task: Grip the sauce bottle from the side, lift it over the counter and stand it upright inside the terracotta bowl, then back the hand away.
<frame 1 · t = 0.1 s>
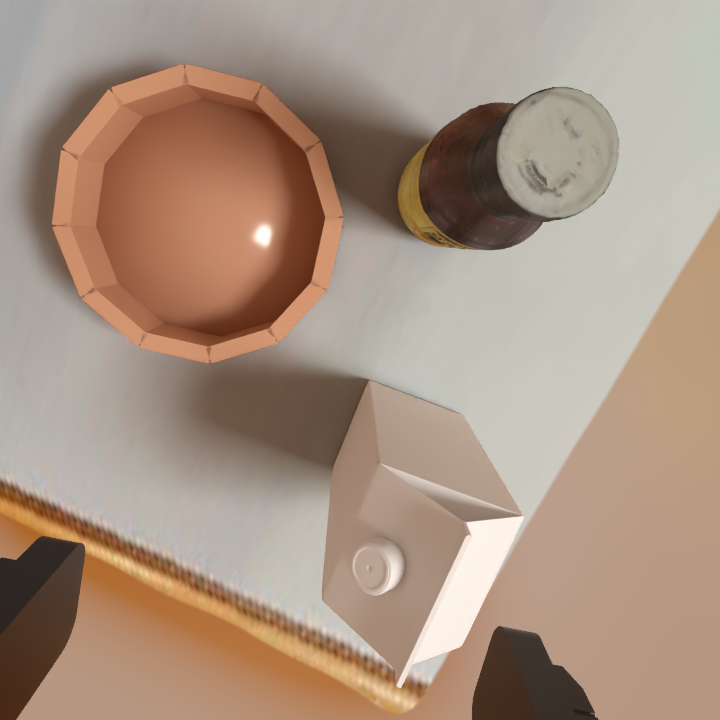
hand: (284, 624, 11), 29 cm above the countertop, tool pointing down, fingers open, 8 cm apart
terracotta bowl: (215, 222, 38), on the countertop
sauce bottle: (446, 196, 38), on the countertop
milk carton: (397, 441, 42), on the countertop
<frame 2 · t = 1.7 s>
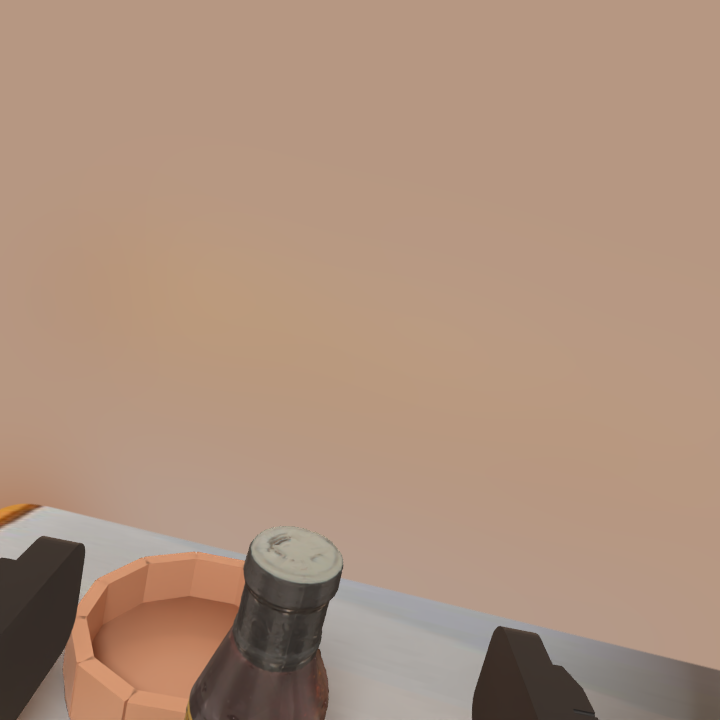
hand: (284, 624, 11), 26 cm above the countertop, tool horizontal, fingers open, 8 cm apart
terracotta bowl: (187, 672, 43), on the countertop
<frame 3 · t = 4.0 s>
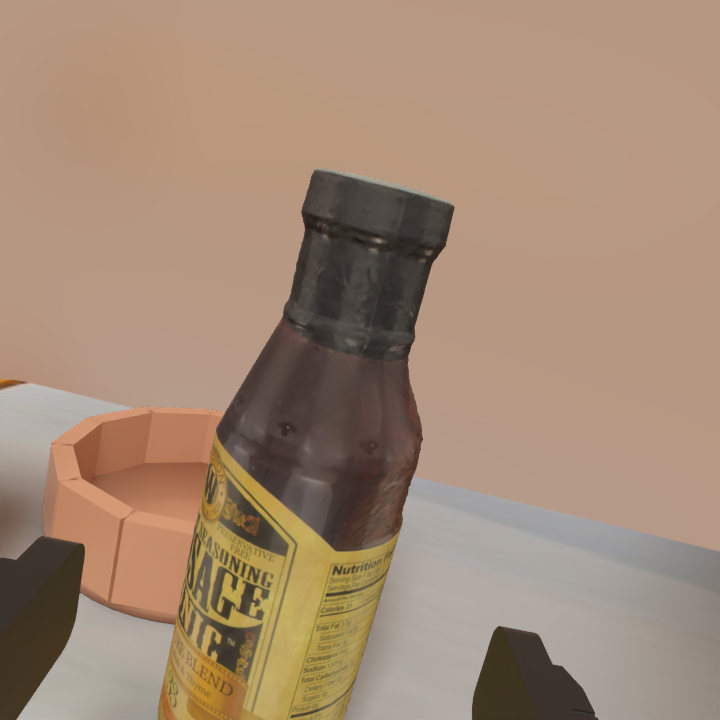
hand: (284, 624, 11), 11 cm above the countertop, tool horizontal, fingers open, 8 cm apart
terracotta bowl: (200, 531, 34), on the countertop
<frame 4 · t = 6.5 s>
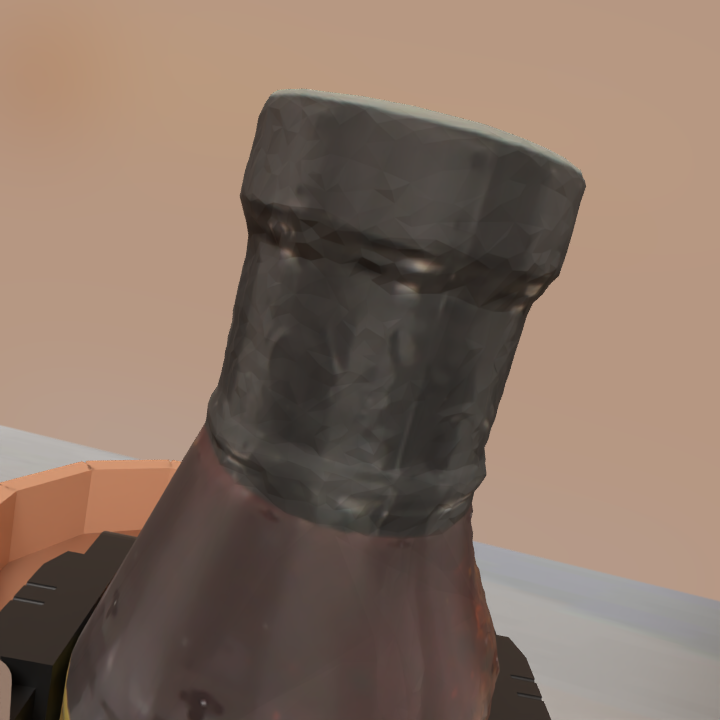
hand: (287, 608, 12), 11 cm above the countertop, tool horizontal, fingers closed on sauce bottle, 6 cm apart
terracotta bowl: (148, 639, 25), on the countertop
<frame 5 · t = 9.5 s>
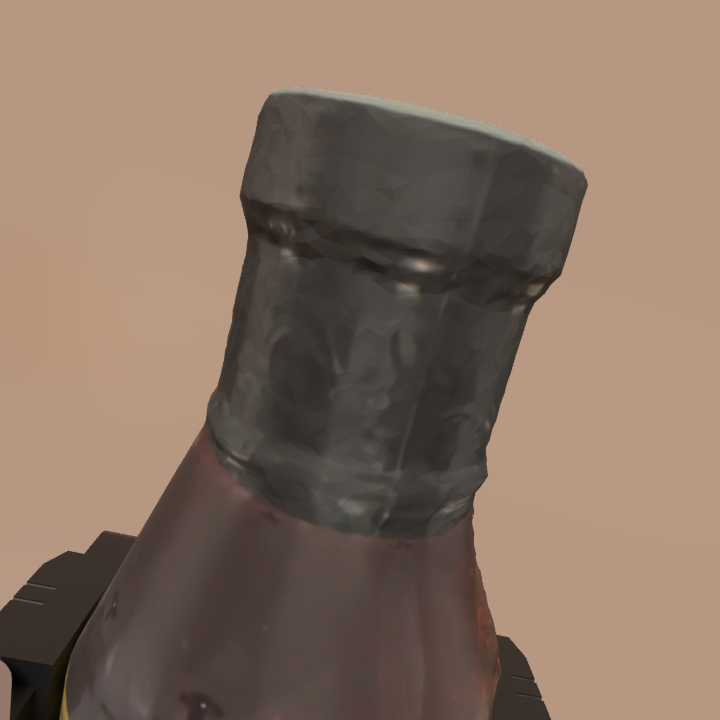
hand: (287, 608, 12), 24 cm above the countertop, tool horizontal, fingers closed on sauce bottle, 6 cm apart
when the fingers open (13 cm above the countertop, at t = 12.5 s): sauce bottle drops 1 cm, resting on terracotta bowl.
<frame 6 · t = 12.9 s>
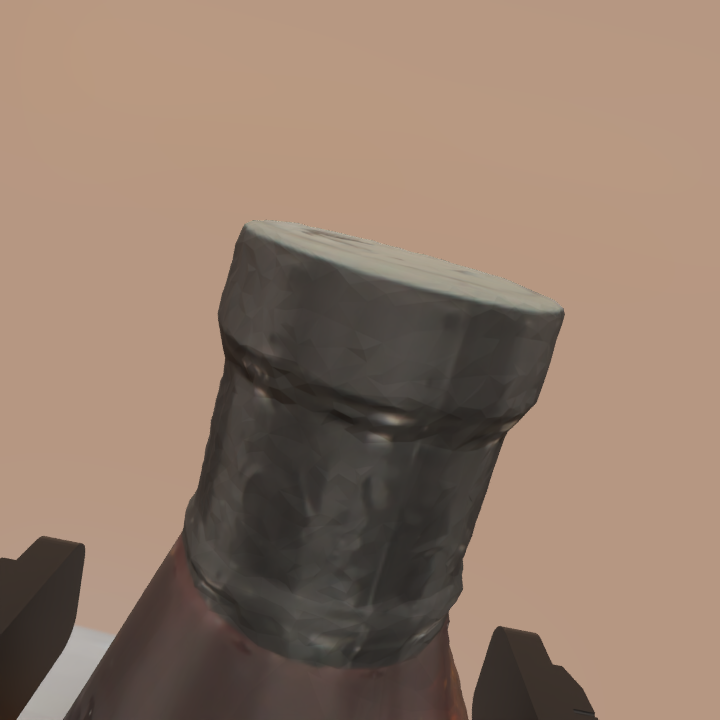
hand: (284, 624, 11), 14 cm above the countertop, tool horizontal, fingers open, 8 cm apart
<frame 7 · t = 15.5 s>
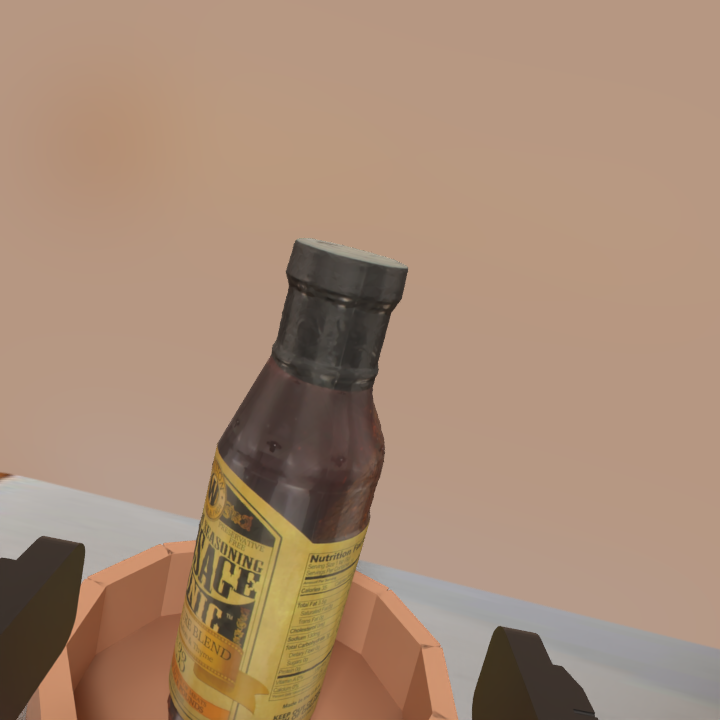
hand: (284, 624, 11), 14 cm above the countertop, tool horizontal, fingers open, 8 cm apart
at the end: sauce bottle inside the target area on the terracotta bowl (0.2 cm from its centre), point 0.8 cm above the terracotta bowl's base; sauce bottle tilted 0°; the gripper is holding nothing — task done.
